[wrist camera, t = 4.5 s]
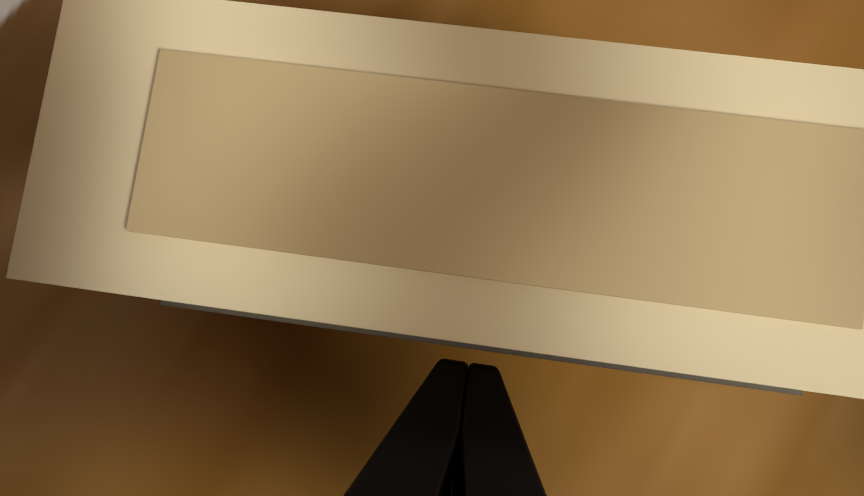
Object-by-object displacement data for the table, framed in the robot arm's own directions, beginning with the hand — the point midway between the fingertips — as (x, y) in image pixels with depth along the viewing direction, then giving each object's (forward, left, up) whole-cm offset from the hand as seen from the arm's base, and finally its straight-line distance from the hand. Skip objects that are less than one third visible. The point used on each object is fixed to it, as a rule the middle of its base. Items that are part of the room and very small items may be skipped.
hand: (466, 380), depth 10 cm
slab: (0, -3, -7) cm, 8 cm away
